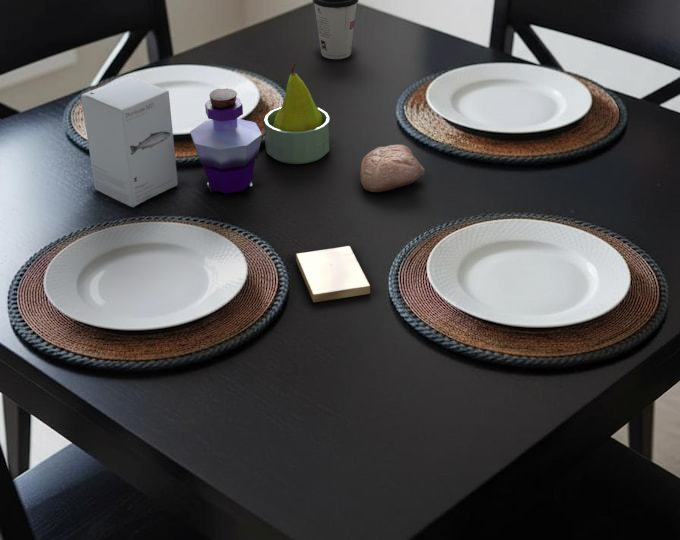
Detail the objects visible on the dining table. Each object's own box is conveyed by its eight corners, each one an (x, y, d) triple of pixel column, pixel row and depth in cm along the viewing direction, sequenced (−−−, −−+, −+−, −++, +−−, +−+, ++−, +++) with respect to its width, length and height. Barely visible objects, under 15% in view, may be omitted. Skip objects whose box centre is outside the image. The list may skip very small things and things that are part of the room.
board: (313, 302, 106) (313, 294, 106) (296, 261, 113) (295, 253, 112) (370, 293, 107) (370, 285, 107) (349, 253, 114) (349, 245, 113)
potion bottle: (238, 160, 132) (232, 71, 126) (279, 186, 127) (275, 94, 120) (180, 182, 128) (170, 90, 121) (220, 209, 122) (212, 115, 115)
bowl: (273, 169, 130) (271, 136, 128) (260, 140, 137) (258, 108, 135) (336, 160, 132) (336, 128, 130) (321, 132, 139) (320, 101, 136)
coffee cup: (315, 63, 159) (313, -2, 153) (312, 46, 164) (310, -17, 159) (361, 61, 159) (361, -4, 154) (356, 44, 165) (356, -19, 159)
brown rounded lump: (413, 161, 132) (353, 151, 129) (431, 132, 127) (369, 122, 124) (418, 211, 128) (356, 202, 126) (437, 184, 123) (372, 174, 121)
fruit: (306, 132, 138) (304, 46, 131) (331, 150, 134) (330, 61, 127) (264, 144, 135) (259, 57, 128) (288, 163, 131) (285, 73, 124)
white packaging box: (133, 209, 122) (119, 110, 115) (93, 189, 126) (78, 92, 119) (180, 186, 127) (170, 89, 120) (140, 167, 131) (128, 73, 124)
